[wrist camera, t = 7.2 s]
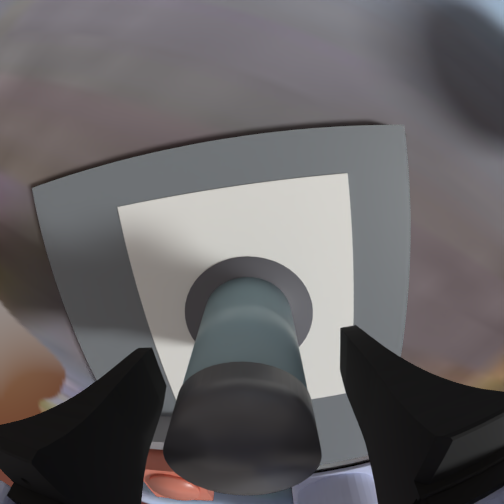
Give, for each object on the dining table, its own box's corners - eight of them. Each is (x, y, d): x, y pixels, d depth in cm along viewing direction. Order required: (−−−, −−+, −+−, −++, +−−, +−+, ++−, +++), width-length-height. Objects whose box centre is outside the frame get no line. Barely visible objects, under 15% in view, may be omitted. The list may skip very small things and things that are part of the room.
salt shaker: (295, 346, 15) (320, 487, 7) (213, 355, 15) (188, 494, 7) (288, 270, 13) (322, 406, 6) (195, 281, 14) (139, 416, 6)
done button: (216, 473, 17) (212, 504, 14) (162, 470, 17) (155, 499, 15) (201, 442, 16) (196, 477, 13) (142, 439, 16) (131, 471, 13)
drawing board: (376, 441, 19) (387, 473, 16) (153, 459, 20) (145, 490, 17) (393, 126, 13) (428, 121, 9) (44, 184, 14) (4, 195, 10)
